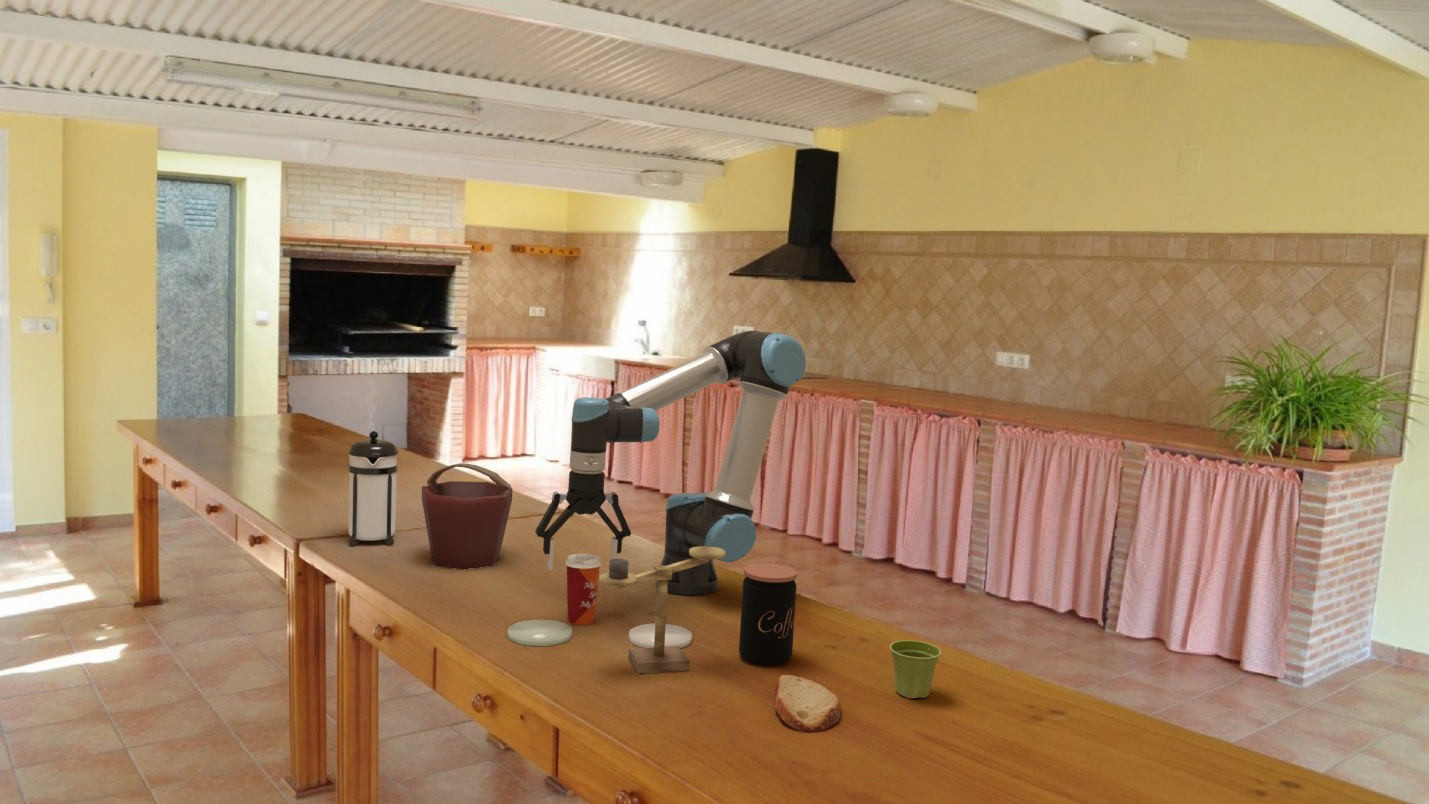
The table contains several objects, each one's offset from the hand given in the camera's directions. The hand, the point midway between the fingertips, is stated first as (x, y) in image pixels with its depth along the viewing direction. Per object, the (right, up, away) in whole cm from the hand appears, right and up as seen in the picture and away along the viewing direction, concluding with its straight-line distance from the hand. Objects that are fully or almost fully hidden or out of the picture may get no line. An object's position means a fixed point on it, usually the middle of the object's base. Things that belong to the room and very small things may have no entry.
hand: (581, 568), depth 224 cm
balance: (+18, -15, -22) cm, 32 cm away
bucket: (-36, -5, +43) cm, 56 cm away
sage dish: (-7, -12, -9) cm, 17 cm away
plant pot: (+65, -19, -30) cm, 74 cm away
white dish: (+17, -13, -8) cm, 23 cm away
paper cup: (0, -12, +1) cm, 12 cm away
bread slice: (+44, -19, -39) cm, 61 cm away
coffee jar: (+39, -16, -15) cm, 44 cm away
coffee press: (-65, -2, +59) cm, 88 cm away
